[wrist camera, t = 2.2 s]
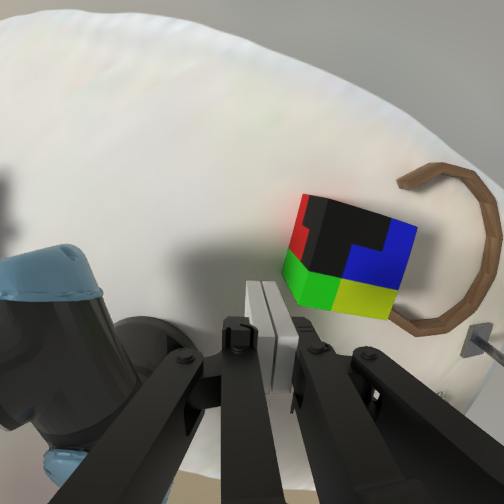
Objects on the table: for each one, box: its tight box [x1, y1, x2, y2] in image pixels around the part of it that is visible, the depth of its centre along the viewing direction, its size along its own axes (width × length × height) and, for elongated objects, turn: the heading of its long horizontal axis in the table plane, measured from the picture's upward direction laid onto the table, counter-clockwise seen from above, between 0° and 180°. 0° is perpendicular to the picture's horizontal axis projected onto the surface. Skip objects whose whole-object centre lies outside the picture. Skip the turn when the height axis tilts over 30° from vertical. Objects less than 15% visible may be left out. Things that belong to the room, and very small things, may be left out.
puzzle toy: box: [282, 194, 418, 320], centre depth 32 cm, size 10×10×10 cm
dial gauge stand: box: [460, 323, 504, 367], centre depth 35 cm, size 8×8×16 cm
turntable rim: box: [388, 162, 503, 337], centre depth 37 cm, size 24×21×3 cm
